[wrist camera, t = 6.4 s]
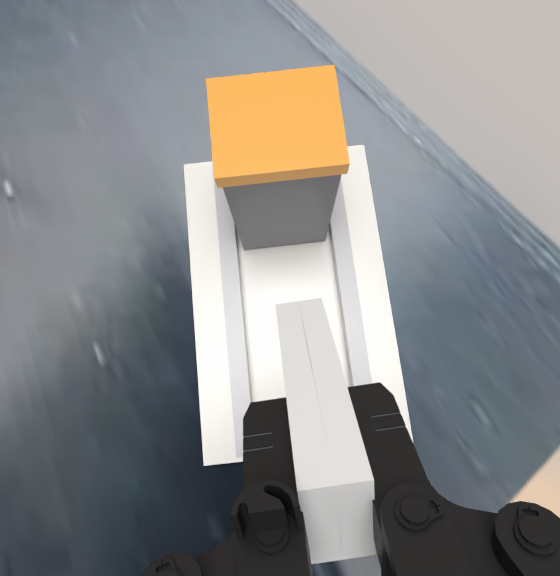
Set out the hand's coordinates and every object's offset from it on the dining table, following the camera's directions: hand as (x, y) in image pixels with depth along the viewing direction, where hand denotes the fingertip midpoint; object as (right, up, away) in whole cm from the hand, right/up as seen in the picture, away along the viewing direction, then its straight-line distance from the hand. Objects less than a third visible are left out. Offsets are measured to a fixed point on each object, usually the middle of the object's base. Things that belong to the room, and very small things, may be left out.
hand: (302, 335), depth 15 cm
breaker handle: (-1, +7, +18) cm, 19 cm away
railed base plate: (0, +1, +18) cm, 18 cm away
